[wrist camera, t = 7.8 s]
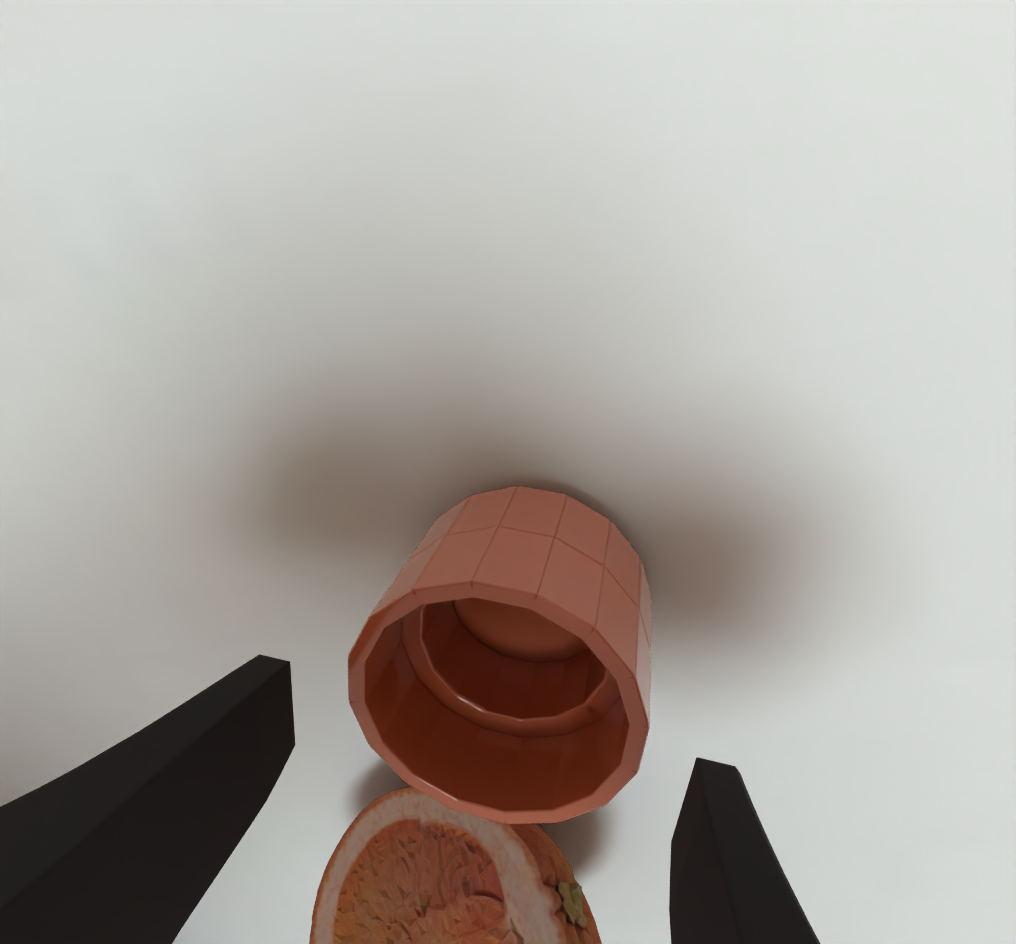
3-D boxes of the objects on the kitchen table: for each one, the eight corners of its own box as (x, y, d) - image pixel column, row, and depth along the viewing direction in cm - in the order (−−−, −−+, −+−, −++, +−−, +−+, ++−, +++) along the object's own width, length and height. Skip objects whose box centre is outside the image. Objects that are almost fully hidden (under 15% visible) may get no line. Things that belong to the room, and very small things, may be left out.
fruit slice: (540, 706, 17) (498, 887, 13) (663, 873, 19) (665, 1088, 14) (322, 784, 20) (228, 951, 16) (442, 921, 22) (386, 1109, 17)
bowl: (628, 695, 16) (618, 855, 12) (420, 648, 17) (349, 783, 13) (671, 502, 14) (676, 622, 10) (428, 459, 15) (345, 554, 11)
